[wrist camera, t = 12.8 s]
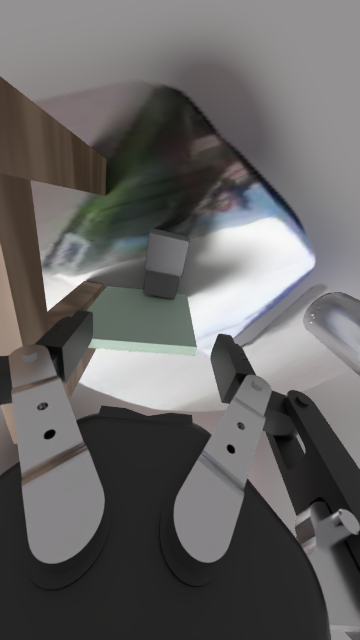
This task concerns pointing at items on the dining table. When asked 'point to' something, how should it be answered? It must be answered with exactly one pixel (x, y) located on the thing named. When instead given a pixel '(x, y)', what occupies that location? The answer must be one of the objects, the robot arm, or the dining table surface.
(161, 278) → the grey stepped block
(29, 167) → the wall frame
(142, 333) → the door
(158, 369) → the dining table surface
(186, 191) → the dining table surface
